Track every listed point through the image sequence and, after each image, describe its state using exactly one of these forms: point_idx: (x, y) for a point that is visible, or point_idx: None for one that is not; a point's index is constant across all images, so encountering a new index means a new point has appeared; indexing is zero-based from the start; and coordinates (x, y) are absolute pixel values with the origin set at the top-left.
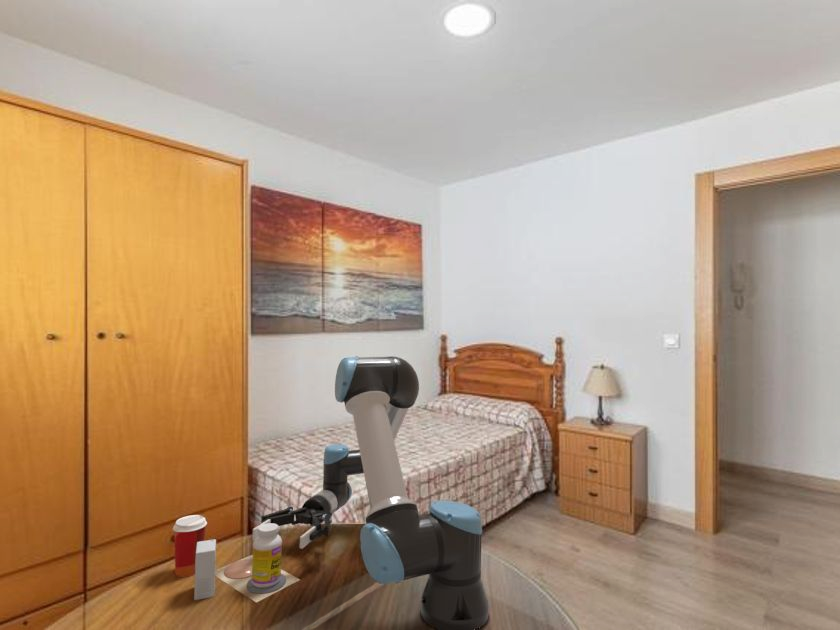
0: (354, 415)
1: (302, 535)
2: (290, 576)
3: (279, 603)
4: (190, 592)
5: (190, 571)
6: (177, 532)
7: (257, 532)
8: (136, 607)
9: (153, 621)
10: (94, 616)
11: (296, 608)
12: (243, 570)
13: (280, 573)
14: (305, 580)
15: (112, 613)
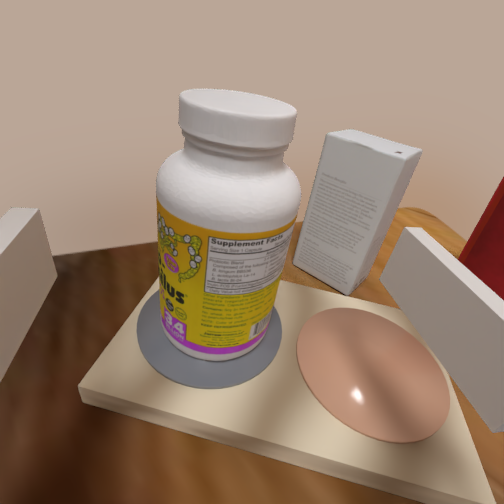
0: None
1: (20, 222)
2: (141, 392)
3: (122, 299)
4: (379, 277)
5: None
6: None
7: (405, 263)
8: (396, 233)
9: None
10: (412, 214)
11: (52, 295)
12: (352, 348)
13: (163, 317)
14: (68, 459)
15: (403, 220)
